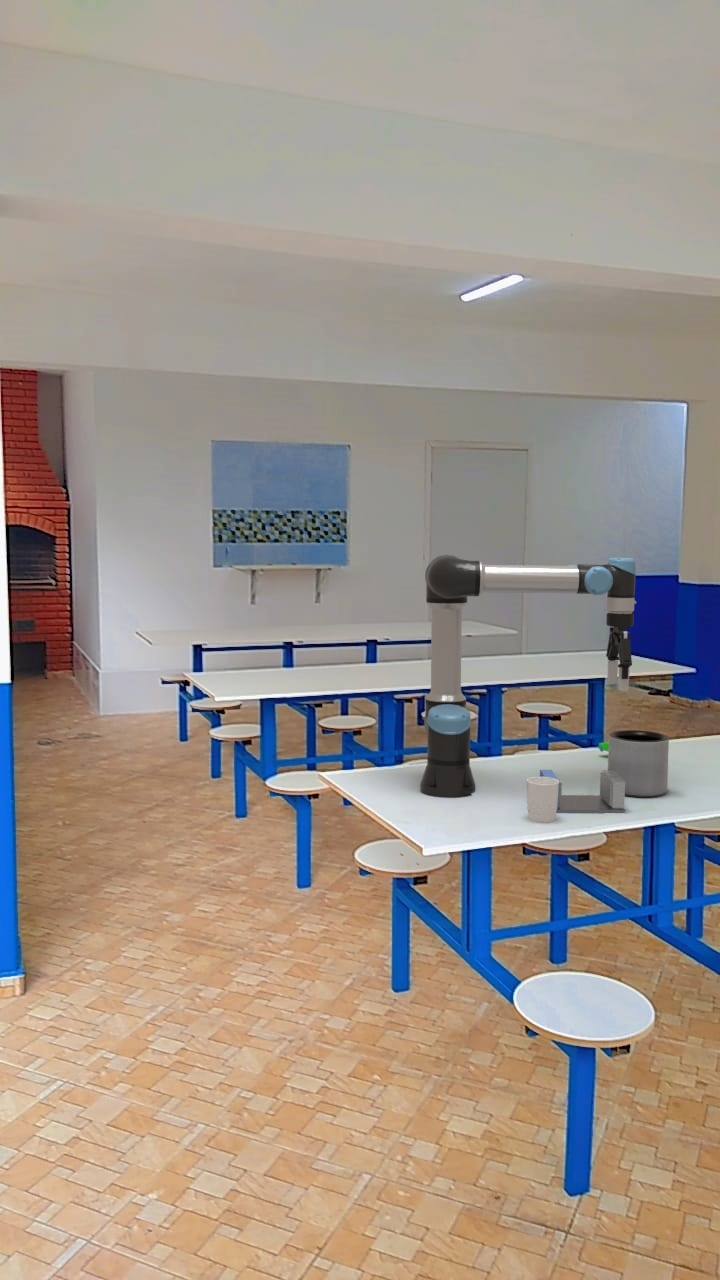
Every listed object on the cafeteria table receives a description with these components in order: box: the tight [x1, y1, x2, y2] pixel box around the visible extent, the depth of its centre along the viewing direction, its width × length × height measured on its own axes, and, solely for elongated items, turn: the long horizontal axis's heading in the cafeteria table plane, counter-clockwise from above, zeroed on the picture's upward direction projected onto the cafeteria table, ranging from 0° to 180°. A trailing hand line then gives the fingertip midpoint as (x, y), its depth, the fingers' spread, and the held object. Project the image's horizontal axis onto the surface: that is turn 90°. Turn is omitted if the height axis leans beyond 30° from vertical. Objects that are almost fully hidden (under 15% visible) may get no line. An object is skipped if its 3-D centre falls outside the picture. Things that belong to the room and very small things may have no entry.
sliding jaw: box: [539, 769, 563, 808], centre depth 261 cm, size 4×12×7 cm, turn 179°
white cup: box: [526, 776, 560, 824], centre depth 248 cm, size 8×8×10 cm
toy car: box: [597, 741, 609, 752], centre depth 325 cm, size 11×7×7 cm, turn 30°
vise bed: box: [556, 794, 626, 815], centre depth 261 cm, size 22×14×1 cm, turn 89°
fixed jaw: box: [599, 769, 626, 809], centre depth 261 cm, size 4×12×7 cm, turn 179°
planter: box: [607, 729, 670, 798], centre depth 276 cm, size 16×16×16 cm
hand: (617, 686), depth 287 cm, fingers open, 13 cm apart
